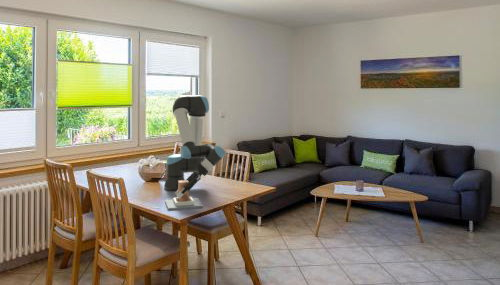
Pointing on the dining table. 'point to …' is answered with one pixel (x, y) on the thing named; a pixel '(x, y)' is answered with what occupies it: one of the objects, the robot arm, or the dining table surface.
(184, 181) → the pillar
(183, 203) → the baseplate
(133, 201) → the dining table surface
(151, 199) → the dining table surface
